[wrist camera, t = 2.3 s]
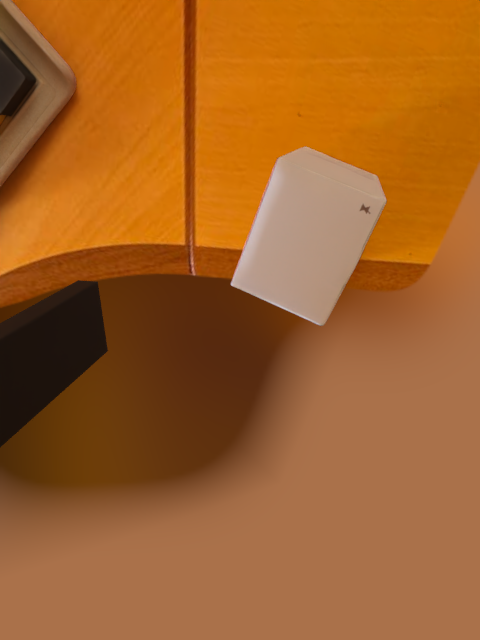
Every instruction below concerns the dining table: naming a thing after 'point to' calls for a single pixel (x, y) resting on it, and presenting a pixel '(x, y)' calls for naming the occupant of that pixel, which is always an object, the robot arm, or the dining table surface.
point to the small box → (309, 233)
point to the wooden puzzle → (27, 86)
